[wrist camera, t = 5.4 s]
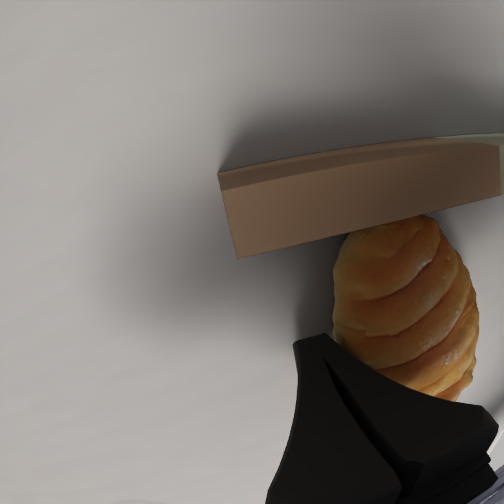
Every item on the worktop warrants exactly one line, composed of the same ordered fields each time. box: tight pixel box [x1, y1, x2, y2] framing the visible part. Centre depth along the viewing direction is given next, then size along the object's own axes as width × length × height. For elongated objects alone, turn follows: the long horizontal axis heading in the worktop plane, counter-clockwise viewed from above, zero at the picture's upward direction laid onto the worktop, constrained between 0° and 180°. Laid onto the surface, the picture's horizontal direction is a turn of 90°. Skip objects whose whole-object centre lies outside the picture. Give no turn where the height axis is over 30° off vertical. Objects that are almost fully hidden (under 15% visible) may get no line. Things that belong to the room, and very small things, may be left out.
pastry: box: [332, 214, 479, 402], centre depth 11 cm, size 9×7×4 cm
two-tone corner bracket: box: [217, 133, 504, 259], centre depth 11 cm, size 14×20×4 cm
